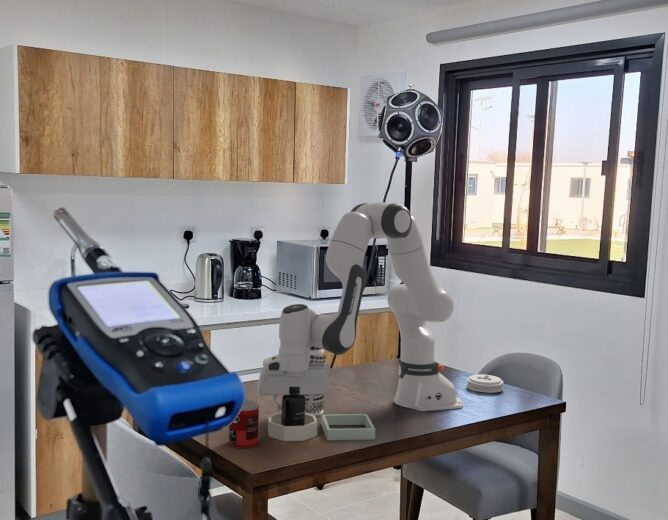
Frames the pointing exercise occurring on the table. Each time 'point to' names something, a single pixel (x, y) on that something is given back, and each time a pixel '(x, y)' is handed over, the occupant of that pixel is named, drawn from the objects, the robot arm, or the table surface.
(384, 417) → the table surface
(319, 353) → the decorative candle
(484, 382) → the lid
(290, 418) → the supplement bottle
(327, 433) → the tray
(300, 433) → the bowl
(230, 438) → the canned food
